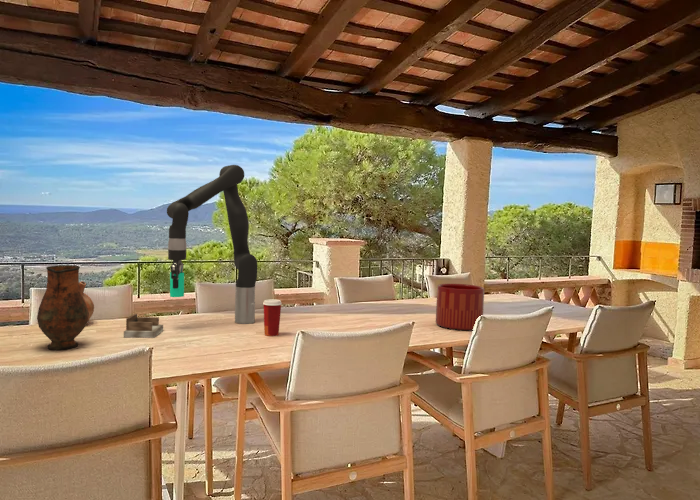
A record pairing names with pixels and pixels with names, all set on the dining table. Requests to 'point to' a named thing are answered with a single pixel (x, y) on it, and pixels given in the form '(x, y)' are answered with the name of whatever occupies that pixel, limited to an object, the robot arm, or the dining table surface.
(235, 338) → the dining table surface
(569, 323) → the dining table surface
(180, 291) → the candle
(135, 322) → the dock
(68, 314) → the pitcher
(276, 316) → the coffee cup
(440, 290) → the planter
